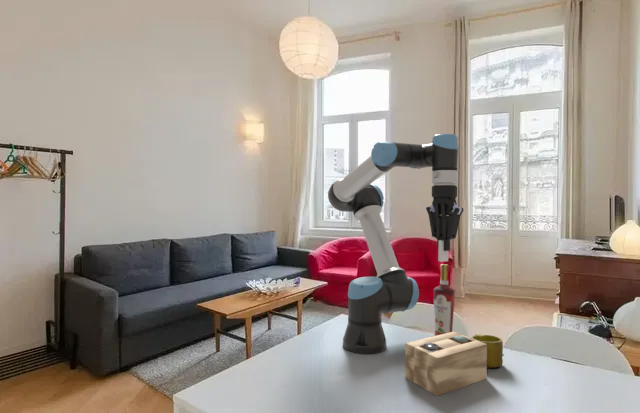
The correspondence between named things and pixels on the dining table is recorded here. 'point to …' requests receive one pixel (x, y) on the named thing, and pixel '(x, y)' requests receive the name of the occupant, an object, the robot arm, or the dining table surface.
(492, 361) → the mug
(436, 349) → the metal pin
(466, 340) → the walnut peg
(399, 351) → the dining table surface
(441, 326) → the liquor
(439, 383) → the oak block
